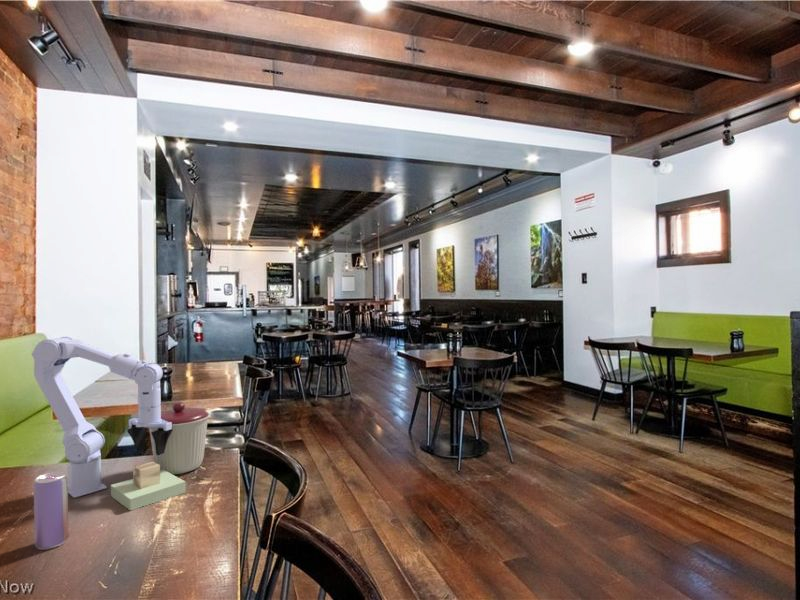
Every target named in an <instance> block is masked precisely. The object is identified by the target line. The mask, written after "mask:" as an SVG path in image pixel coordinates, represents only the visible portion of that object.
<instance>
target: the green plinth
mask: <svg viewBox="0 0 800 600" xmlns="http://www.w3.org/2000/svg"><path fill="white" fill-rule="evenodd" d="M186 491H187V490H186V481H185V480H183V479H181V478H179V477H178V476H175V474H174V475H172V474H171V473H169V472H167V471H165V470H161V471H160V483H159V484H156V485H153V486H149V487H146V488H143V489H140V488H138V487H137V486H135V485H134V484H133V478H131V479H127V480H124V481H123V480H122V481H120V482H117V483H113V484H110V496H111V497H112V498H113V499H115V501H117V502H118V503H119V504H121V505H122V506H123V505H124V506H123V507H125V508H126V509H127V508H128V511H130V510H132V511H134V510H133V509H135V510H137V509H136V508H138V509H140V508H139V507H141V508H143V507H142V506H144V507H146V506H145V505H147V506H149V504H150V505H152V503H153V504H154V503H159V502H161V501H164V500H167V499H170V498H173V497H176V496H179V495H181V494H184V493H185V494H186Z"/></svg>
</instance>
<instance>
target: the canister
mask: <svg viewBox="0 0 800 600" xmlns="http://www.w3.org/2000/svg"><path fill="white" fill-rule="evenodd" d="M210 416H211V413H210V412H209V411H207V410H204V409H203V408H199V407H186V405H185V403H184V402H181V401H180V402H175V403H173V405H172V409H167V410H161V419H162V420H165V421H167V422H172V429H173V431H172V432H171V434H170V436H169V438H168V441H167V443H166V447H165V451H164V453H163V454H161V455H156V449H155V441H154V438H153V436H152V434H151V432H153V431H156V430H158V429H154V428H148V430H149V435H150V437H149V438H150V443H151V449H152V457H153V462H155V463H157V464H159V465H160V471H161V470H165V471H167V472H169V473H171V474H172V475H174V476H175V475H181V474H186V473H188V472H191V471H194V470H196V469H198V468H199V467H200V466H201V464H202V463H203V459H204V456H205V449H206V448H205V447H206V439H207V430H208V421H209V420H208V419H209V417H210Z"/></svg>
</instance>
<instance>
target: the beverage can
mask: <svg viewBox="0 0 800 600" xmlns="http://www.w3.org/2000/svg"><path fill="white" fill-rule="evenodd" d="M33 512H34V513H33V514H34V515H33V516H34V518H33V519H34V524H33V525H34V547H36V549H38V550H41V551H46V550H51V549H52V550H53V549H54V548H57V546H58V547H60V546H61V545H62V546H63V544H65V543H66V541H68V538H69V536H70V533H69V527H70V526H69V525H70V524H69V493H68V475H67V472H66V471H52V472H47V473H43V474H41V475H38V476H37V477H36V478H34V483H33Z"/></svg>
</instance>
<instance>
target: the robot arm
mask: <svg viewBox="0 0 800 600" xmlns="http://www.w3.org/2000/svg"><path fill="white" fill-rule="evenodd" d="M31 357H32V358H33V361H34V363H33V364H34V365H33V376H34V379H35V380H36V382H37V384H38V387H40V389H41V391H42V394H43V395H44V396H45V399H46V400H47V403H48V404H49V406H50V407H51V410H52V411H53V413H54V415H55V417H56V419H57V421H58V422H59V425H60V426H61V428H62V429H63V431H64V432H63V433H64V434H63V437H62V444H63V446H64V456H65V458H66V459H67V460H68V461H69V463H68V464H67V478H68V495H70V496H71V497H72V498H79V497H81V496H85V495H88V494H92V493H96V492H99V491H102V490H105V489H107V485H106V484H104V483H102V454H101V450H102V448H103V447H104V445H105V443H106V441H105V436H104V435H103V433H102V432H100V431H99V430H97V428H96V427H95V425H94V424H92V423H90V422H88V421H87V420H86V418H85V417H84V415H83V413H82V411H81V409H80V408H79V405H78V404H77V402H76V399H74V396H73V395H72V393H71V391H70V389H69V387H68V385H67V383H66V381H65V380H64V377H63V376H62V374H61V372H62V371H63V369H64V367H65V365H66V364H67V362H69V360H71V359H73V358H81V359H84V360H88V361H91V362H94V363H97V364H101V365H103V366H106V367H108V368H109V371H110V372H111V373H113V374H116V375H118V376H121V377H124V378H127V379H129V380H132V381H134V382H135V383H136V384H137V388H138V390H137V403H138V405H137V408H138V409H137V410H138V412H137V414H138V415H137V416H138V418H137V417H133V418H130V419H128V427H130V428H128V429H126V430H127V434H129V436H130V437H131V440H132V442H133V444H134V448H135V450H136V453H140V452H143V451H145V449H146V440H147V439H146V438H147V433H148V430H149V428H154V429H158V430H156V431H153V432H151V434H152V436H153V438H154V441H155V449H156V455H161V454H163V453H164V451H165V447H166V443H167V441H168V438H169V436H170V434H171V432H172V431H173V429H172V422H167V421H165V420H162V419H161V412H162V405H161V404H162V400H161V398H162V397H161V395H162V393H161V379H162V378H163V375H164V371H163V368H162V367H161V365H159V364H157V363H156V362H149V363H148V361H147V360H145V359H143V360H140V359H138V358H135V357H133V356H132V354H130V353H128V352H126V353H119V354H116V355H114V354H112V353H110V352H107V351H105V350H103V349H100V348H98V347H95V346H93V345H91V344H88V343H86V342H83V341H82V340H79V339H75V338H72V337H69V336H61V337H59V338H58V337H57V338H51V339H49V338H48V339H43V340H41V341H39V342H38V343H37V344H36V346H35V348H34V349H33V351H32V353H31Z"/></svg>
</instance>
